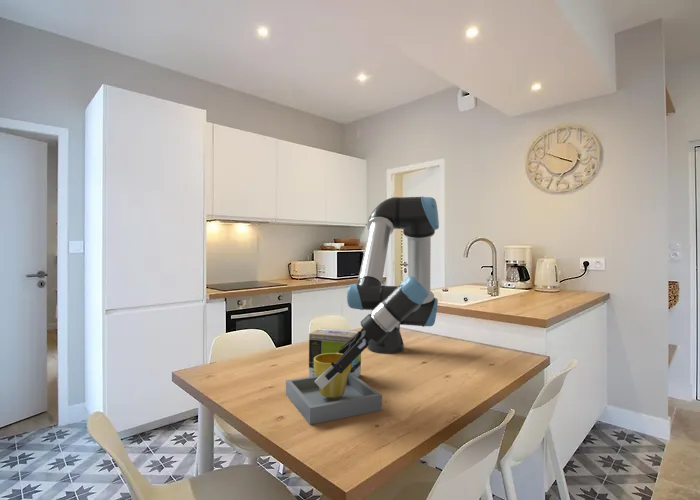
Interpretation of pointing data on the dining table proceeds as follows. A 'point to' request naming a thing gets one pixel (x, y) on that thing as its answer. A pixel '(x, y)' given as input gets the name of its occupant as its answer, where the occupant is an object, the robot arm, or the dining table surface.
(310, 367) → the tea box
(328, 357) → the plant pot
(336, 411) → the serving tray
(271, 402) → the dining table surface
